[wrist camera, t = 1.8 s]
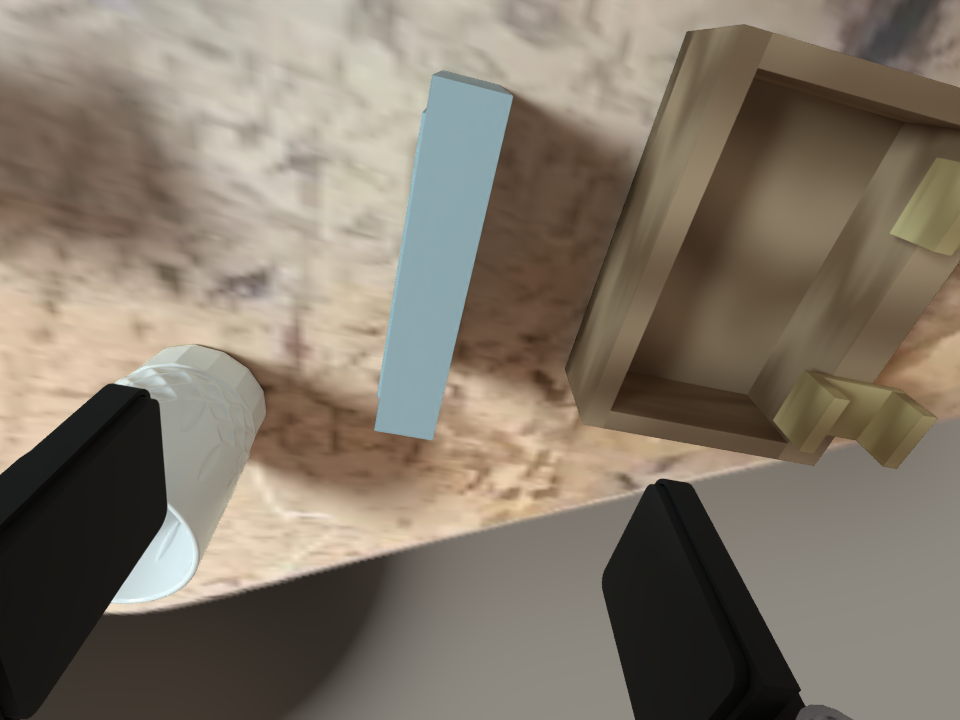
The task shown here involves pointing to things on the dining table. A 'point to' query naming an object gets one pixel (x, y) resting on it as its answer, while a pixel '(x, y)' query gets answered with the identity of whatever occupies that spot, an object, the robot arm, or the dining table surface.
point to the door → (439, 247)
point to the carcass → (774, 253)
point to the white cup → (193, 457)
